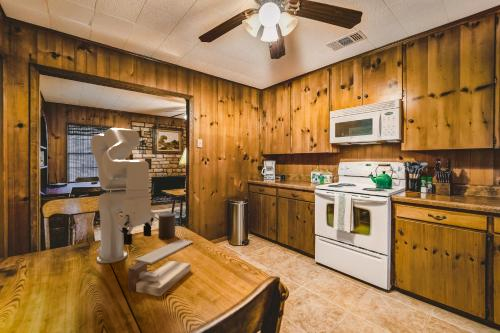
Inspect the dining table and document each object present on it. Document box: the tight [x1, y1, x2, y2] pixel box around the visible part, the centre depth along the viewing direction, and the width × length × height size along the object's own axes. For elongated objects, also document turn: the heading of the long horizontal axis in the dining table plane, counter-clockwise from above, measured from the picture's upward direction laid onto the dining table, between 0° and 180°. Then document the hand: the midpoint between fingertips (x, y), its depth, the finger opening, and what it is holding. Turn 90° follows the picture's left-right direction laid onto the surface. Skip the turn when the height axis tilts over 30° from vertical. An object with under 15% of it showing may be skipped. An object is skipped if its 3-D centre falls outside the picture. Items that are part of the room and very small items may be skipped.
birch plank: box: [135, 260, 191, 297], centre depth 93 cm, size 10×20×3 cm, turn 163°
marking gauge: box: [127, 262, 159, 292], centre depth 87 cm, size 10×6×8 cm, turn 73°
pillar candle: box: [157, 212, 176, 240], centre depth 145 cm, size 10×10×15 cm
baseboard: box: [133, 236, 194, 265], centre depth 123 cm, size 31×3×12 cm
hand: (138, 240), depth 87 cm, fingers open, 9 cm apart
